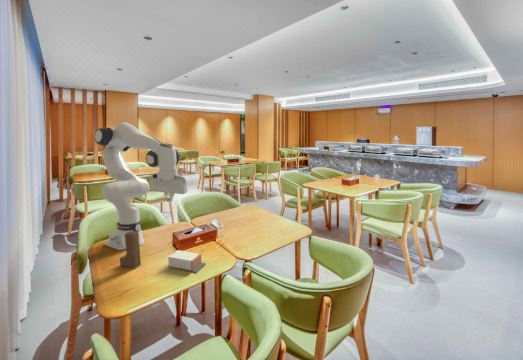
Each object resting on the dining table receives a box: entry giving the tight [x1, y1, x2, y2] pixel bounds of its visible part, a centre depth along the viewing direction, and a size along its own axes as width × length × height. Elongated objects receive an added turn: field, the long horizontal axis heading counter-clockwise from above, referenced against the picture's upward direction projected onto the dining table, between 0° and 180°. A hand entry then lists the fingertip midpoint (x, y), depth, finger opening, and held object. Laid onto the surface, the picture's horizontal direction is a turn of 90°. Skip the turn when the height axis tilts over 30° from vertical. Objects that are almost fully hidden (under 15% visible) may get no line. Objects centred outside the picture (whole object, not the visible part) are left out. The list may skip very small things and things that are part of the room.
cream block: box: [167, 249, 202, 271], centre depth 140 cm, size 5×8×14 cm
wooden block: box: [119, 231, 142, 269], centre depth 139 cm, size 9×4×18 cm, turn 74°
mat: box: [169, 262, 206, 274], centre depth 140 cm, size 15×9×1 cm, turn 72°
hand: (169, 200), depth 146 cm, fingers closed
